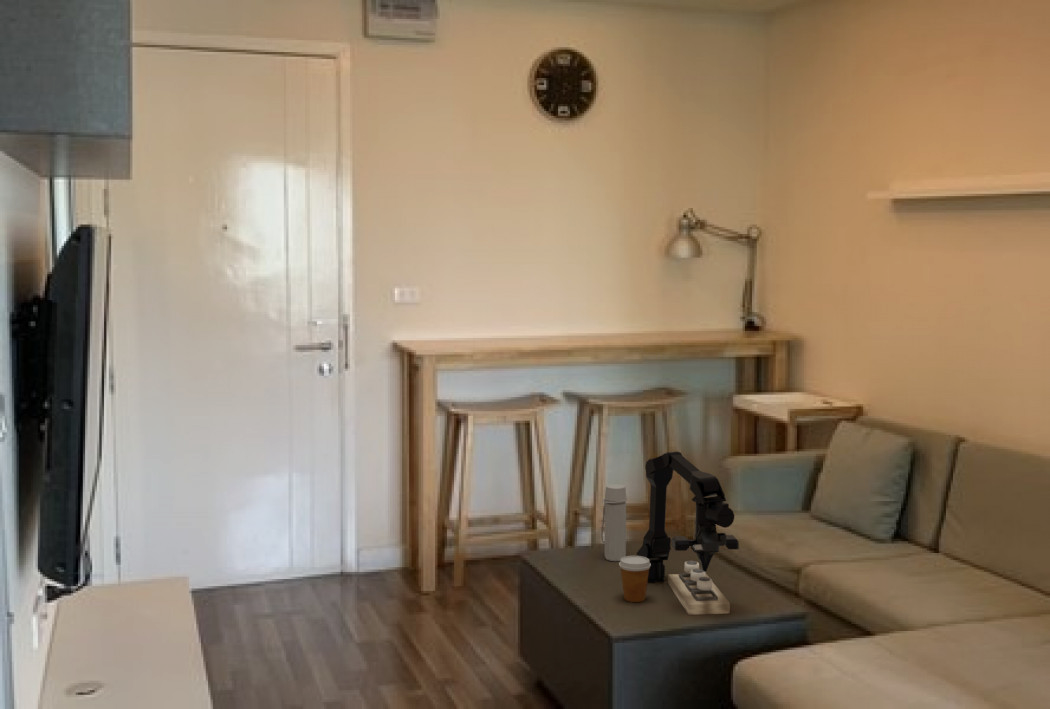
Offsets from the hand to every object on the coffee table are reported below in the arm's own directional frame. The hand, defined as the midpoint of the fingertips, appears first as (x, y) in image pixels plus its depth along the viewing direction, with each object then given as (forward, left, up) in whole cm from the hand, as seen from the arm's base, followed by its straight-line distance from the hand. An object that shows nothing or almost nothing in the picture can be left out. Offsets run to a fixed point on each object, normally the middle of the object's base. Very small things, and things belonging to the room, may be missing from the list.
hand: (704, 571), depth 313 cm
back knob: (0, +16, -5) cm, 17 cm away
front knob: (0, 0, -5) cm, 5 cm away
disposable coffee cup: (-19, +9, -11) cm, 24 cm away
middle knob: (0, +8, -5) cm, 9 cm away
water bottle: (-19, +50, -11) cm, 55 cm away
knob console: (0, +8, -11) cm, 13 cm away
